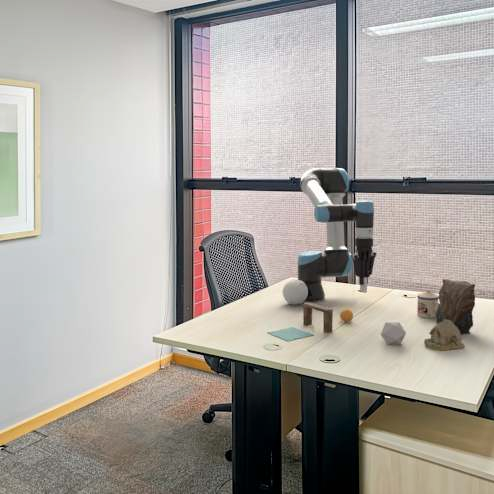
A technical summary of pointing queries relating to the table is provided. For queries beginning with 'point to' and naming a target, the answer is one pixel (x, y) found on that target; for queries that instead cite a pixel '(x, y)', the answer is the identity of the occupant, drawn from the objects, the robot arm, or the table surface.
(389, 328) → the die
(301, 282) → the decorative ball
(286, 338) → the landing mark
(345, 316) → the ball
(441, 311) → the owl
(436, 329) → the ceramic model
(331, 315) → the bridge
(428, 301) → the teacup with lid
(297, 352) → the table surface
